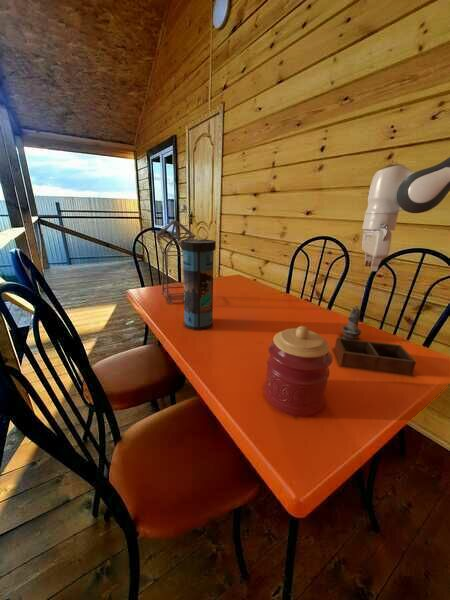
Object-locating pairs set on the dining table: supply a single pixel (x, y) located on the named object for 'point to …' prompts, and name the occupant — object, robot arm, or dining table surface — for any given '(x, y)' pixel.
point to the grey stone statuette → (352, 325)
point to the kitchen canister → (297, 372)
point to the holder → (374, 356)
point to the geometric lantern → (171, 255)
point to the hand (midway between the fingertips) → (370, 268)
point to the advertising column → (198, 282)
